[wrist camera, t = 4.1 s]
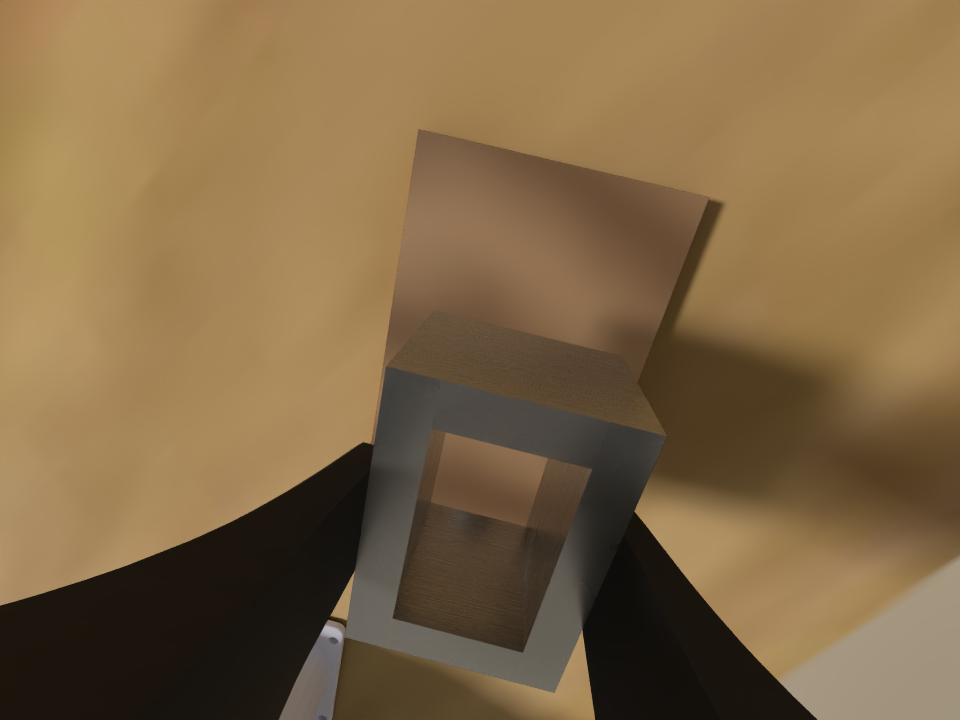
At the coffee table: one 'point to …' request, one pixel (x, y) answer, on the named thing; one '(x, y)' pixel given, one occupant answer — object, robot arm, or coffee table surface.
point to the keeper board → (531, 278)
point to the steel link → (487, 541)
